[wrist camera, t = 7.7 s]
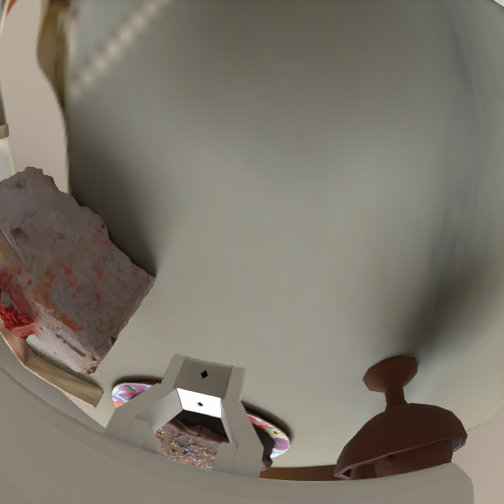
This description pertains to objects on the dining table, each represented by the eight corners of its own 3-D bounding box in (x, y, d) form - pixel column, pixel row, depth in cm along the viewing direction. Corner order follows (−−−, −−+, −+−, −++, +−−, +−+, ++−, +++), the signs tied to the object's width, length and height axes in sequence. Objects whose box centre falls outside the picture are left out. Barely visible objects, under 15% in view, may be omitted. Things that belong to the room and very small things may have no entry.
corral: (-46, 150, 15) (-63, 159, 12) (8, 123, 14) (-22, 133, 11) (32, 354, 36) (23, 366, 33) (103, 392, 34) (95, 408, 31)
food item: (29, 218, 18) (-44, 276, 10) (48, 149, 15) (-56, 202, 6) (130, 315, 22) (76, 403, 14) (173, 267, 18) (101, 384, 10)
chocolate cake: (91, 388, 36) (76, 416, 30) (182, 352, 24) (158, 410, 18) (206, 455, 45) (200, 480, 39) (326, 443, 32) (324, 479, 27)
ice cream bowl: (379, 323, 18) (404, 528, 5) (461, 348, 18) (498, 486, 6) (313, 391, 24) (302, 534, 11) (395, 404, 24) (403, 520, 11)
